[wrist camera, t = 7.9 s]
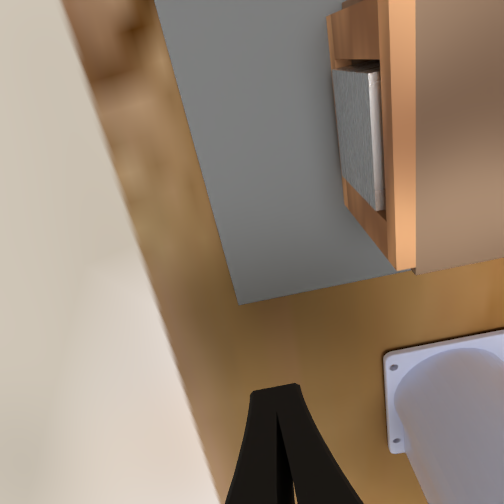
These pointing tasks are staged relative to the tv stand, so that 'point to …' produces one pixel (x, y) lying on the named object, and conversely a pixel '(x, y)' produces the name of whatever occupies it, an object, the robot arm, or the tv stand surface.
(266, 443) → the robot arm
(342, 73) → the peg
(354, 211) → the housing
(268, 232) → the mat
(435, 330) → the tv stand surface
